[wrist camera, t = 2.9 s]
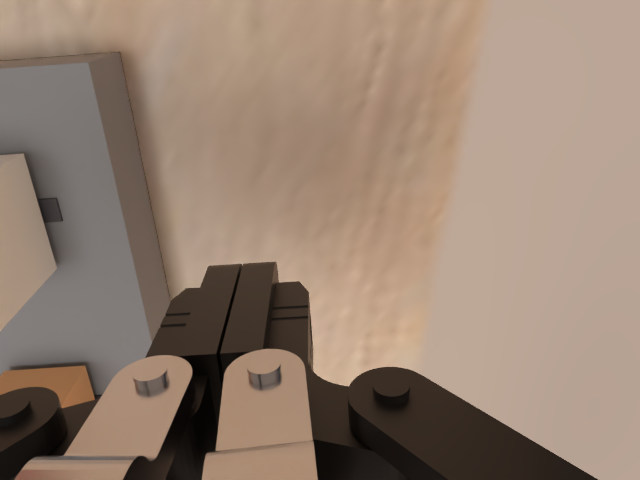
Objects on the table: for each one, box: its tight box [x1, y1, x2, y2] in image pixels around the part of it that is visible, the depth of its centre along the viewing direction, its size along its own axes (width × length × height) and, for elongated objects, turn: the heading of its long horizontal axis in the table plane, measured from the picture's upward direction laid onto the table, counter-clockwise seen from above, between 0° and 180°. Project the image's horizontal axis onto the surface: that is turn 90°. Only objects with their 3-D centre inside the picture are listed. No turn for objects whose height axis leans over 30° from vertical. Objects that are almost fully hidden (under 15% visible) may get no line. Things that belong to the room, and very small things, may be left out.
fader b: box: [0, 366, 95, 408], centre depth 20 cm, size 4×3×4 cm
